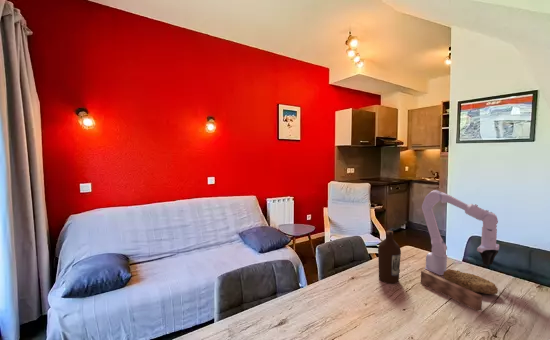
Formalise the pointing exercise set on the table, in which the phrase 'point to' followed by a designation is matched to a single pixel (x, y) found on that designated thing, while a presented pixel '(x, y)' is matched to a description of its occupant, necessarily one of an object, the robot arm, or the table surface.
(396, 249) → the olive oil
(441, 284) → the walnut board
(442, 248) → the robot arm
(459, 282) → the brown oblong lump
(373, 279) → the table surface
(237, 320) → the table surface
